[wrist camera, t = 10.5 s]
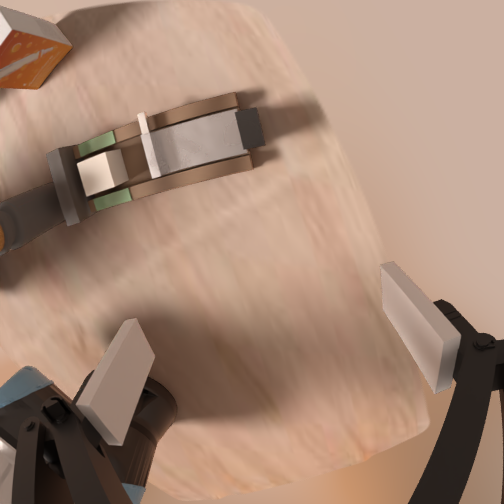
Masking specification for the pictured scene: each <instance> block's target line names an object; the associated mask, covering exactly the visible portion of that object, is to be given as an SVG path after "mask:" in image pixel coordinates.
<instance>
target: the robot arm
mask: <svg viewBox="0 0 504 504" xmlns="http://www.w3.org/2000/svg"><path fill="white" fill-rule="evenodd" d="M380 270H381V284H382V301H383V311H384V312H385V314H386V316H387V317H388V319H389V320H390V322H391V323H392V325H393V326H394V328H395V329H396V331H397V333H398V334H399V336H400V337H401V339H402V341H403V342H404V344H405V345H406V347H407V349H408V350H409V352H410V354H411V355H412V357H413V358H414V360H415V362H416V363H417V365H418V367H419V368H420V370H421V372H422V373H423V375H424V377H425V378H426V380H427V382H428V384H429V385H430V387H431V389H432V391H433V392H434V394H437V393H439V392H441V391H444V390H446V389H449V388H451V384H452V379H453V378H454V380H455V381H456V383H457V384H456V387H455V391H454V394H453V397H452V400H451V403H450V407H449V409H448V412H447V416H446V418H445V421H444V424H443V427H442V429H441V432H440V435H439V437H438V440H437V442H436V445H435V447H434V450H433V452H432V455H431V457H430V459H429V462H428V464H427V466H426V468H425V470H424V473H423V475H422V477H421V479H420V481H419V483H418V485H417V487H416V489H415V491H414V493H413V495H412V497H411V499H410V501H409V503H408V504H459V501H460V499H461V496H462V493H463V491H464V489H465V486H466V483H467V481H468V478H469V475H470V472H471V469H472V466H473V463H474V460H475V457H476V453H477V450H478V447H479V443H480V439H481V436H482V432H483V428H484V424H485V420H486V416H487V411H488V406H489V402H490V397H491V391H495V390H499V392H500V401H501V413H502V426H503V427H502V428H503V485H502V499H501V504H504V340H496V339H495V338H494V337H493V336H491V335H490V334H486V333H478V332H477V331H476V330H475V329H474V328H473V327H472V325H471V324H470V323H469V322H468V321H467V320H466V319H465V318H464V317H463V316H462V315H461V314H460V313H459V312H458V311H457V310H456V309H455V308H454V306H453V305H451V304H450V303H448V302H446V301H444V300H442V299H441V300H438V301H435V302H432V301H431V300H430V299H429V298H428V297H427V296H426V295H425V294H424V293H423V292H422V290H421V289H420V288H419V287H418V286H417V285H416V284H415V283H414V282H413V281H412V280H411V279H410V278H409V277H408V276H407V275H406V274H405V273H404V272H403V270H402V269H401V268H400V267H399V266H397V264H396V263H395V262H394V261H393V262H389V263H385V264H381V265H380ZM154 359H155V355H154V353H153V351H152V349H151V347H150V345H149V343H148V341H147V339H146V337H145V335H144V333H143V331H142V329H141V327H140V325H139V323H138V320H137V318H133V319H128V320H125V321H124V322H123V324H122V325H121V327H120V329H119V330H118V332H117V334H116V335H115V337H114V339H113V340H112V342H111V344H110V345H109V347H108V349H107V350H106V352H105V354H104V355H103V357H102V359H101V360H100V362H99V364H98V366H97V367H96V369H95V370H93V371H92V372H91V373H90V374H89V375H88V376H87V377H86V378H85V380H84V382H83V385H81V387H80V389H79V391H78V392H77V394H76V396H75V398H74V399H73V400H72V399H70V398H69V397H68V396H67V395H66V394H65V393H63V392H62V391H61V390H60V389H59V388H58V387H57V386H56V385H55V384H54V382H53V381H52V380H51V381H50V380H49V379H48V378H47V377H45V376H44V375H43V374H42V373H41V372H40V371H39V370H37V369H36V368H35V367H32V366H25V367H23V368H22V369H20V370H19V371H18V372H17V373H16V374H14V375H13V376H12V377H11V378H10V379H9V380H8V381H7V382H6V383H5V384H4V385H3V386H2V387H1V388H0V504H140V501H141V499H142V497H143V494H144V492H145V490H146V488H145V486H146V483H147V479H148V476H149V472H150V468H151V464H152V461H153V457H154V453H155V450H156V447H157V443H158V442H159V440H160V439H161V438H162V436H163V435H164V434H165V432H166V431H167V429H169V427H170V426H171V425H172V424H173V422H174V420H175V416H176V412H177V405H176V402H175V400H174V398H173V397H172V395H171V394H170V393H169V392H168V391H167V390H166V389H165V388H164V387H163V386H162V385H160V384H159V383H157V382H156V381H154V380H152V379H151V378H149V377H148V374H149V372H150V369H151V366H152V364H153V361H154Z"/></svg>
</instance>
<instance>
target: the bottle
mask: <svg viewBox="0 0 504 504" xmlns="http://www.w3.org/2000/svg"><path fill="white" fill-rule="evenodd" d="M64 220H65V218H64V215H63V212H62V208H61V205H60V202H59V199H58V196H57V193H56V189H55V186H54V183H49V184H46V185H43V186H40V187H38V188H35V189H32V190H30V191H27V192H25V193H22V194H20V195H17V196H15V197H12V198H10V199H8V200H5V201H3V202H1V203H0V256H1V255H3V254H5V253H7V252H8V251H9V250H10V249H12V250H15V249H18V248H20V247H22V246H23V245H25V244H27V243H28V242H30V241H31V240H33V239H35V238H36V237H38V236H39V235H41V234H43V233H44V232H46V231H48V230H49V229H51V228H53V227H54V226H56V225H58V224H59V223H61V222H63V221H64Z"/></svg>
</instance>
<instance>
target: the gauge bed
mask: <svg viewBox="0 0 504 504" xmlns="http://www.w3.org/2000/svg"><path fill="white" fill-rule="evenodd" d="M234 109H238V111H240V108H239V104H238V100H237V96H236V92H233V93H229V94H225V95H221V96H217V97H213V98H209V99H206V100H202V101H198V102H195V103H191V104H188V105H185V106H181V107H178V108H175V109H172V110H168V111H165V112H162V113H159V114H156V115H153V116H150V117H148V121H149V125H150V129H151V132H156V131H159V130H162V129H165V128H169V127H172V126H175V125H178V124H182V123H185V122H188V121H192V120H195V119H199V118H203V117H206V116H210V115H214V114H218V113H222V112H226V111H230V110H234ZM141 135H142V132H141V128H140V124H139V121H136V122H134V123H131V124H128V125H126V126H123V127H120V128H118V129H115V130H113V131H110V132H108V133H105V134H103V135H100V136H98V137H96V138H93V139H91V140H89V141H86V142H84V143H82V144H78V145H73V146H67V147H62V148H57V149H55V150H53V151H51V152H50V153H48V154H46V156H47V160H48V164H49V168H50V172H51V175H52V179H53V182H54V186H55V189H56V193H57V196H58V199H59V202H60V205H61V208H62V212H63V215H64V218H65V220H66V223H67V226H71V225H74V224H77V223H80V222H82V221H83V220H85V219H86V218H88V217H90V216H91V215H93V214H95V213H96V212H98V211H100V210H103V209H106V208H110V207H113V206H116V205H119V204H122V203H126V202H129V201H132V200H136V199H139V198H143V197H146V196H150V195H153V194H157V193H160V192H164V191H168V190H171V189H175V188H179V187H183V186H186V185H190V184H194V183H198V182H202V181H206V180H210V179H214V178H218V177H223V176H227V175H231V174H235V173H240V172H244V171H249V170H253V169H254V167H253V162H252V158H251V154H250V150H249V149H248V153H244V154H240V155H236V156H231V157H227V158H223V159H219V160H215V161H211V162H207V163H203V164H199V165H195V166H191V167H188V168H184V169H180V170H177V171H173V172H170V173H166V174H164V175H162V176H160V177H156V178H153V179H152V176H151V172H150V169H149V165H148V162H147V158H146V154H145V150H144V147H143V143H142V139H141ZM117 149H121V153H122V157H123V161H124V164H125V168H126V171H127V175H128V178H129V180H128V181H126V182H124V183H122V184H120V185H117V186H115V187H112V188H109V189H107V190H104V191H101V192H98V193H95V194H92V195H89V196H87V197H86V193H85V190H84V187H83V183H82V180H81V176H80V173H79V169H78V166H77V163H79V162H82V161H84V160H87V159H89V158H91V157H94V156H96V155H99V154H101V153H104V152H108V151H112V150H117Z"/></svg>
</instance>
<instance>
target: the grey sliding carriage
mask: <svg viewBox="0 0 504 504" xmlns="http://www.w3.org/2000/svg"><path fill="white" fill-rule="evenodd" d="M137 116H138V120H139V124H140V128H141V132H142V135H141V139H142V143H143V147H144V150H145V154H146V158H147V162H148V165H149V169H150V172H151V176H152V179H153V178H156V177H160V176H162V175H164V174H166V173H170V172H173V171H177V170H180V169H184V168H188V167H191V166H195V165H199V164H203V163H207V162H211V161H215V160H219V159H223V158H227V157H231V156H236V155H240V154H244V153H248V149H249V148H254V147H259V146H263V145H265V141H264V136H263V132H262V128H261V123H260V119H259V115H258V111H257V108H256V107H255V108H251V109H246V110H242V111H238V109H234V110H230V111H226V112H222V113H218V114H214V115H210V116H206V117H203V118H199V119H195V120H192V121H188V122H185V123H182V124H178V125H175V126H172V127H169V128H165V129H162V130H159V131H156V132H151V129H150V125H149V121H148V117H147V113H146V112H142V113H139V114H137Z"/></svg>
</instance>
